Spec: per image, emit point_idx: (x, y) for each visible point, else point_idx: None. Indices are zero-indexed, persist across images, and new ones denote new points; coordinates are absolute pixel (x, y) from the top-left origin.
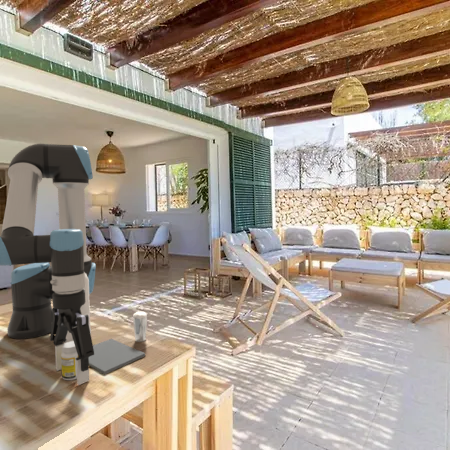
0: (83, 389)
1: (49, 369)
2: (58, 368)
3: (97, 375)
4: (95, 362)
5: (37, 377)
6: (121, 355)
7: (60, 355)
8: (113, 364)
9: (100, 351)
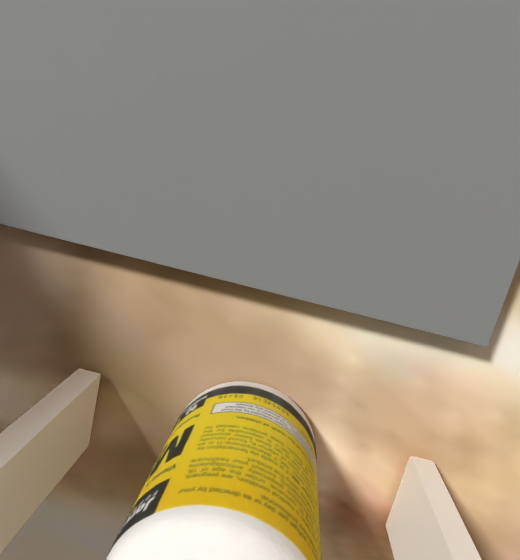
0: None
1: None
2: (82, 446)
3: (426, 369)
4: (280, 252)
5: (41, 534)
6: (429, 12)
7: (24, 498)
8: (479, 213)
9: (137, 42)
